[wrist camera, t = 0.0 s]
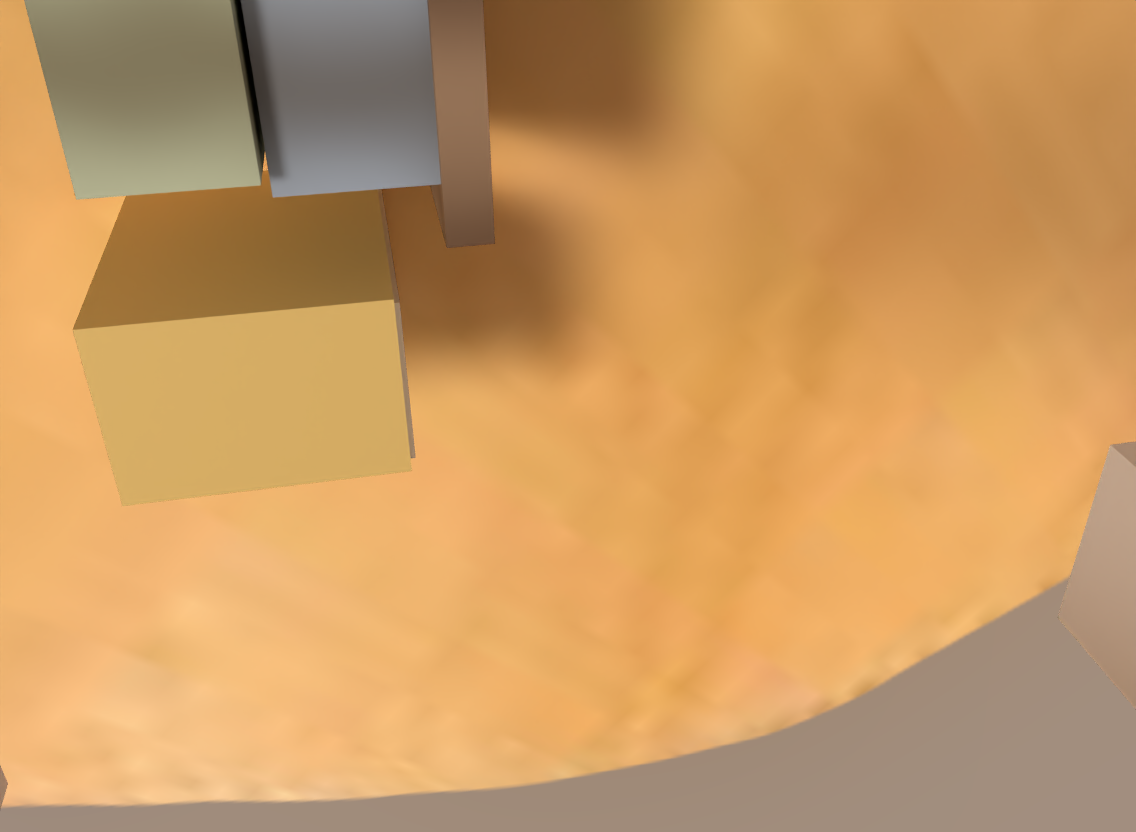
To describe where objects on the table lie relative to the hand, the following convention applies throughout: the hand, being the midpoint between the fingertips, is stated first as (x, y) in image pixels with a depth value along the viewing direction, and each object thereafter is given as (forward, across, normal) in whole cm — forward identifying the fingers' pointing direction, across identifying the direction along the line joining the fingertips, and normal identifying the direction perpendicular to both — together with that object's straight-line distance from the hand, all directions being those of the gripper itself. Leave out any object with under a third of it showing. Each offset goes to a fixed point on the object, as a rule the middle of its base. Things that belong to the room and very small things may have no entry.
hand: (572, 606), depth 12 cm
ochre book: (+28, -5, -7) cm, 29 cm away
